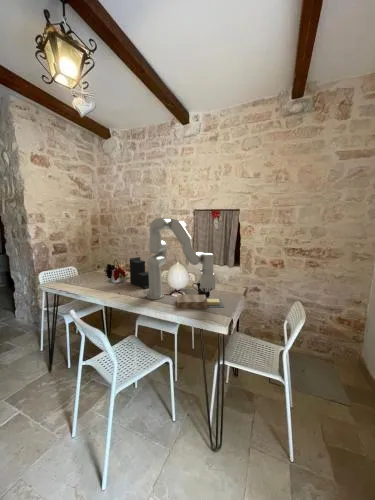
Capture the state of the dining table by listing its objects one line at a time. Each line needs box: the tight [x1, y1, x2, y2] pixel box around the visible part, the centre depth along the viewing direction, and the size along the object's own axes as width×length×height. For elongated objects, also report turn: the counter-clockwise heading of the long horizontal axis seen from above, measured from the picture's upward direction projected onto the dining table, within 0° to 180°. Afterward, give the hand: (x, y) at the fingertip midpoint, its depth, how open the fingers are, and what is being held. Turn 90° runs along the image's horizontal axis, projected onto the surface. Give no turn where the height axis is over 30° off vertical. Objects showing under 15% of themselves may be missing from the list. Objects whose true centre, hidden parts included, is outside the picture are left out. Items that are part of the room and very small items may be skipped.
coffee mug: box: [191, 280, 205, 295], centre depth 171 cm, size 12×9×10 cm
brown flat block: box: [176, 294, 208, 309], centre depth 151 cm, size 20×14×4 cm
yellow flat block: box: [206, 298, 220, 305], centre depth 152 cm, size 9×6×2 cm, turn 90°
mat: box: [207, 298, 225, 309], centre depth 152 cm, size 11×14×1 cm
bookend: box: [129, 256, 149, 290], centre depth 193 cm, size 23×11×24 cm, turn 45°
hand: (207, 297), depth 151 cm, fingers closed
